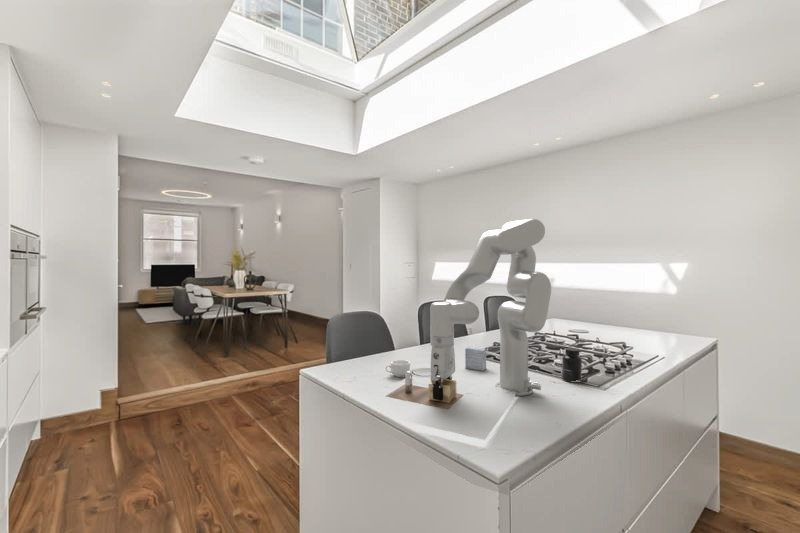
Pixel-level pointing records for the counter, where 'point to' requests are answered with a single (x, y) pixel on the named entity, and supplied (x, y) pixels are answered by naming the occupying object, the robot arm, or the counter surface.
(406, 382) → the steel rod
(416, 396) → the walnut board
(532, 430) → the counter surface
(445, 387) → the wooden storage bin
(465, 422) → the counter surface
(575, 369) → the supplement bottle
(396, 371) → the teacup
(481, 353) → the medicine box
